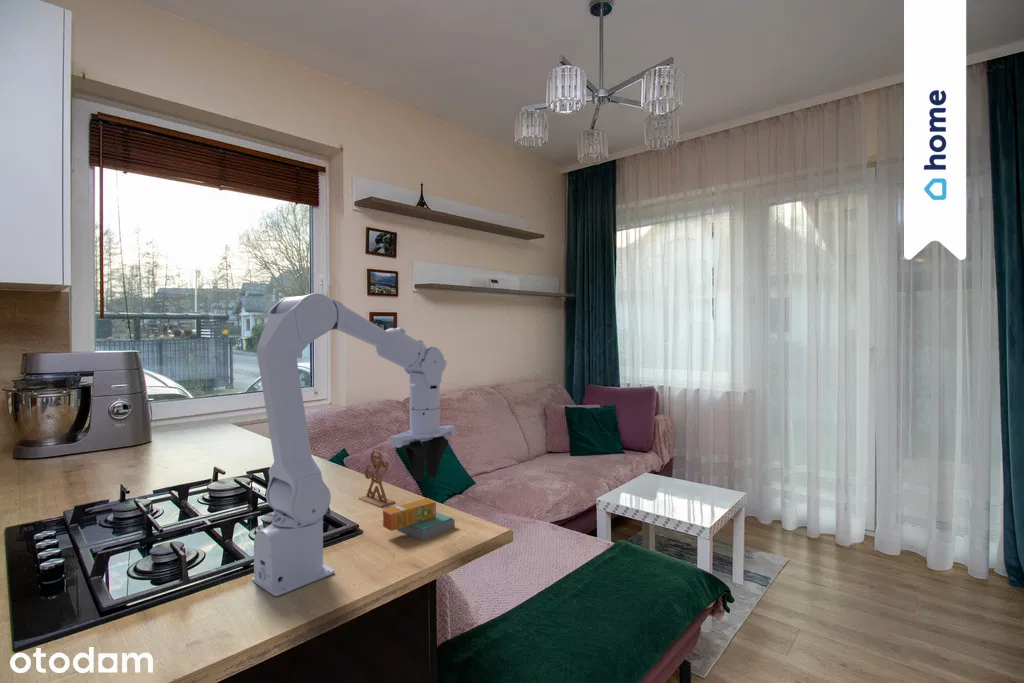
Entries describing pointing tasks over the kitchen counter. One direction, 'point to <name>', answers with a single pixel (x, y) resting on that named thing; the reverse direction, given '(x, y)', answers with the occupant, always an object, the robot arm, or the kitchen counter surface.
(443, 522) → the podium
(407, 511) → the supplement box
